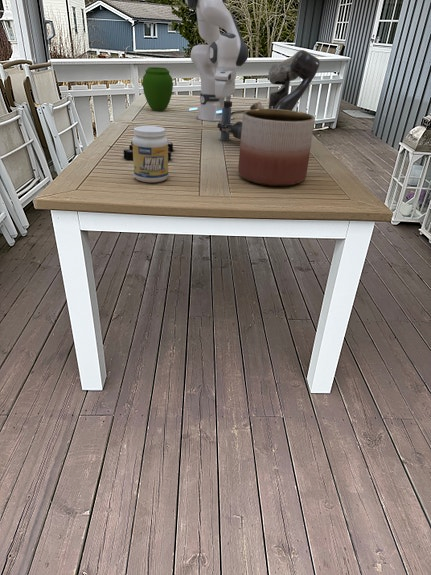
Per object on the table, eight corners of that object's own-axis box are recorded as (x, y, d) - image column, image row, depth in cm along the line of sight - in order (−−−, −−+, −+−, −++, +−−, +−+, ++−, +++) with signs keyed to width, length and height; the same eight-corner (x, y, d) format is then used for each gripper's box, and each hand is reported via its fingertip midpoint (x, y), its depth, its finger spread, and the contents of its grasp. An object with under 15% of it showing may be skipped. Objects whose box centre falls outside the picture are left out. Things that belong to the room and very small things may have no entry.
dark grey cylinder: (219, 138, 205) (221, 102, 196) (228, 139, 206) (230, 102, 197) (220, 141, 202) (222, 104, 193) (229, 141, 202) (232, 104, 193)
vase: (143, 107, 275) (142, 66, 262) (173, 108, 277) (172, 67, 264) (142, 112, 259) (140, 68, 246) (173, 113, 261) (173, 70, 248)
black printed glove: (122, 152, 163) (135, 135, 189) (122, 159, 165) (135, 142, 190) (169, 154, 164) (176, 137, 189) (170, 161, 165) (176, 144, 191)
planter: (315, 188, 145) (327, 122, 133) (246, 188, 141) (252, 121, 129) (292, 167, 166) (301, 109, 155) (231, 167, 162) (235, 107, 150)
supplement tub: (139, 184, 140) (136, 133, 131) (130, 174, 149) (127, 125, 140) (173, 181, 144) (172, 131, 135) (162, 172, 153) (161, 124, 144)
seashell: (262, 114, 271) (264, 101, 267) (264, 116, 267) (266, 102, 262) (248, 114, 270) (249, 101, 266) (250, 115, 265) (251, 102, 261)
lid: (234, 106, 195) (234, 102, 194) (226, 107, 192) (226, 102, 191) (227, 105, 198) (227, 100, 197) (219, 106, 195) (219, 101, 194)
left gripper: (226, 72, 197) (224, 103, 205) (213, 75, 181) (211, 109, 188) (239, 73, 196) (237, 104, 203) (226, 76, 179) (224, 110, 186)
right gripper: (256, 121, 192) (233, 115, 204) (232, 124, 185) (210, 117, 196) (255, 138, 196) (232, 131, 208) (231, 141, 189) (210, 134, 200)
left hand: (224, 106), depth 195 cm, fingers open, 7 cm apart
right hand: (222, 124), depth 202 cm, fingers closed on dark grey cylinder, 4 cm apart
